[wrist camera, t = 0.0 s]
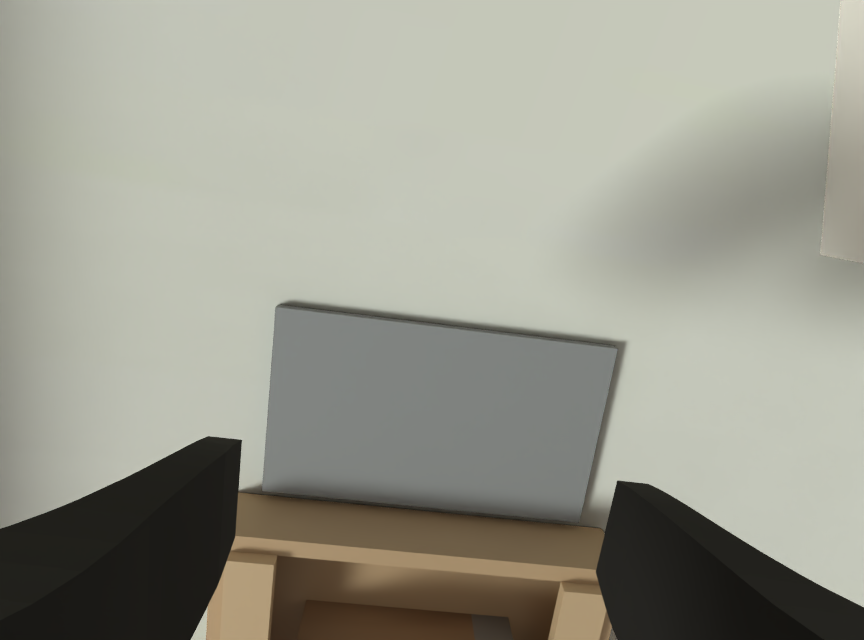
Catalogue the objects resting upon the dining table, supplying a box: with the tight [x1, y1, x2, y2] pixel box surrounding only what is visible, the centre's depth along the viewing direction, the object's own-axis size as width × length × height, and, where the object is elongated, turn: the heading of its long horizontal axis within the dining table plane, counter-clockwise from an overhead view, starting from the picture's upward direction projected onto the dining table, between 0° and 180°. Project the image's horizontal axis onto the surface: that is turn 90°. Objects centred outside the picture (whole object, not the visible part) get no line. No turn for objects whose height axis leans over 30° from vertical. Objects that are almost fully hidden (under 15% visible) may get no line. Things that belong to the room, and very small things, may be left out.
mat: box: [262, 305, 618, 523], centre depth 21 cm, size 7×12×1 cm, turn 82°
